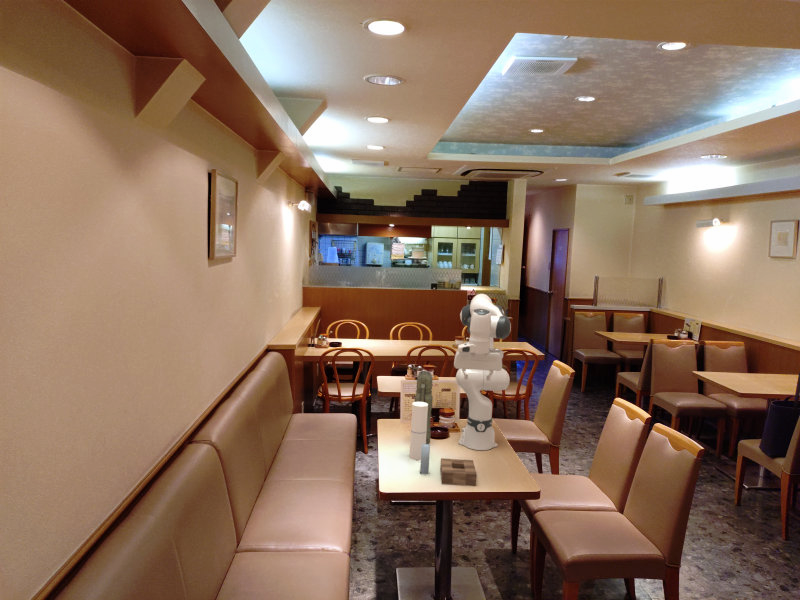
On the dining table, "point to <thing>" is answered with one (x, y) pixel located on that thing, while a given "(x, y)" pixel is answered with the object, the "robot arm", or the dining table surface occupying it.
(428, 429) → the thermos
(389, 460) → the dining table surface
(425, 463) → the peg
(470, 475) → the socket block
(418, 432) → the cylindrical container
